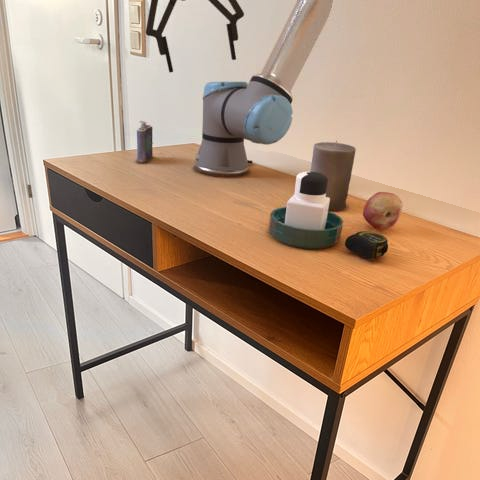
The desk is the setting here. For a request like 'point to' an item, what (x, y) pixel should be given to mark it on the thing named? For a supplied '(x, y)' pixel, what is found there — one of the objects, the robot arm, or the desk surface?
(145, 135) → the flask
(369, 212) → the fruit
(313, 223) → the medicine bottle
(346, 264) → the desk surface
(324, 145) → the pillar candle
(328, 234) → the bowl
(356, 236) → the tape measure
